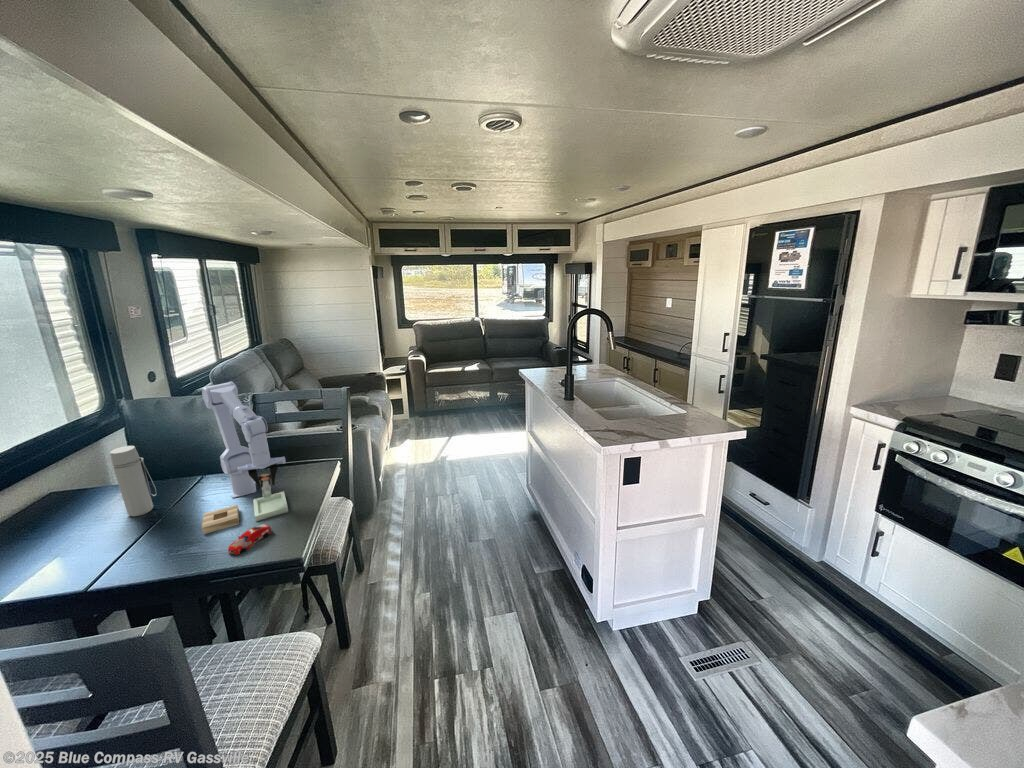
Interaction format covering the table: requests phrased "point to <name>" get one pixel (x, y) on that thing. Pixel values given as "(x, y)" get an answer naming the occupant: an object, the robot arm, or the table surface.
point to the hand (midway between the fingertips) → (266, 485)
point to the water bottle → (132, 480)
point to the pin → (265, 485)
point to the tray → (270, 506)
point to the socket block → (220, 519)
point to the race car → (249, 539)
